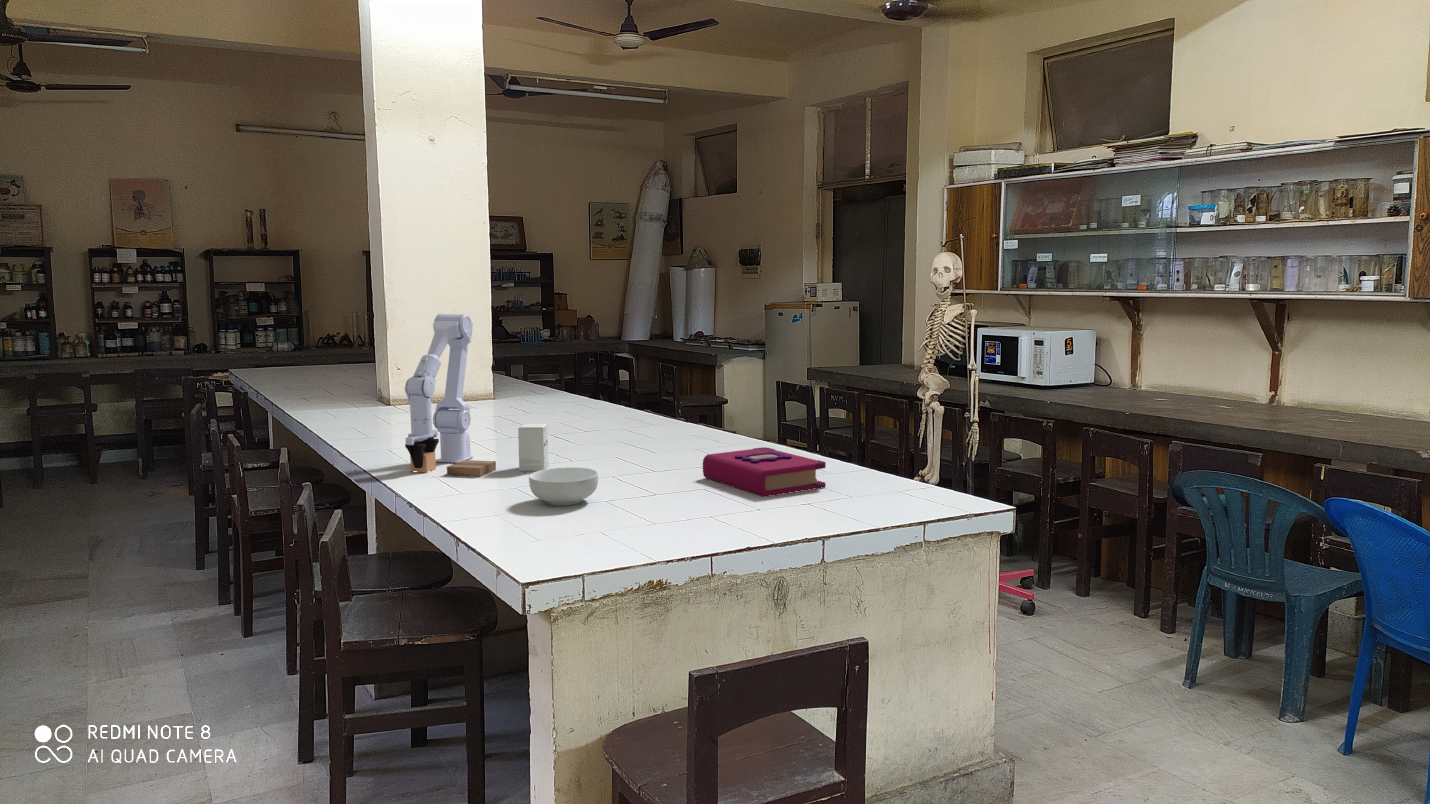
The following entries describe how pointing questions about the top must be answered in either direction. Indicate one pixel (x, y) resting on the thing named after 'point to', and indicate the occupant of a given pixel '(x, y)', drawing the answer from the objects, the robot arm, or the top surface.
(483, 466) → the walnut slab
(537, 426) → the supplement box
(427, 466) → the terracotta cube
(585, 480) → the cereal bowl
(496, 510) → the top surface
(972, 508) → the top surface
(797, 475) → the book
